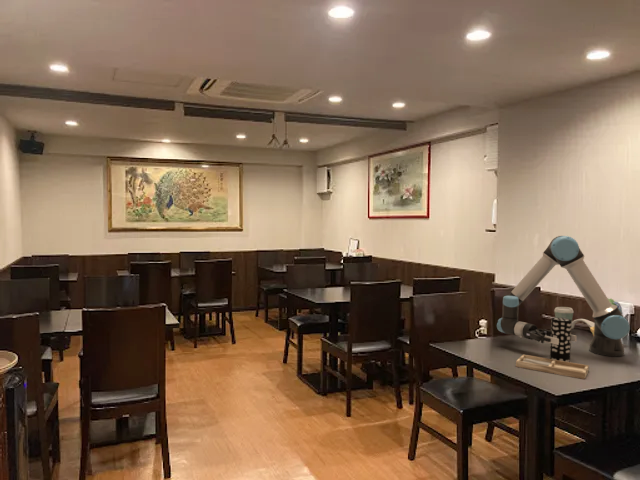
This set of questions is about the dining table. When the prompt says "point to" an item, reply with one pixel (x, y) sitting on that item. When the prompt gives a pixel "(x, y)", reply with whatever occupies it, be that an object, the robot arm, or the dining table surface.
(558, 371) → the tray
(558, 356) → the spotted tube
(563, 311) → the disposable coffee cup
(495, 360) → the dining table surface
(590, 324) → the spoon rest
